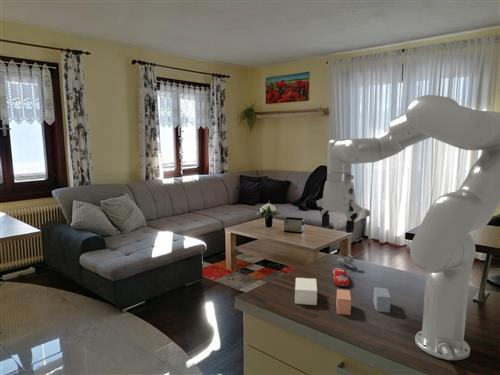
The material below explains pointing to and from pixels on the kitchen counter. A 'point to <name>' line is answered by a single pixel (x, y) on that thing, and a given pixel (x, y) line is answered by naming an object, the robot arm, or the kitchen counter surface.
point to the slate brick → (382, 300)
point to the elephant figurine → (346, 260)
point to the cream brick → (306, 291)
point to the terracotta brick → (343, 302)
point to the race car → (340, 277)
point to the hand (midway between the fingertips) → (337, 229)
